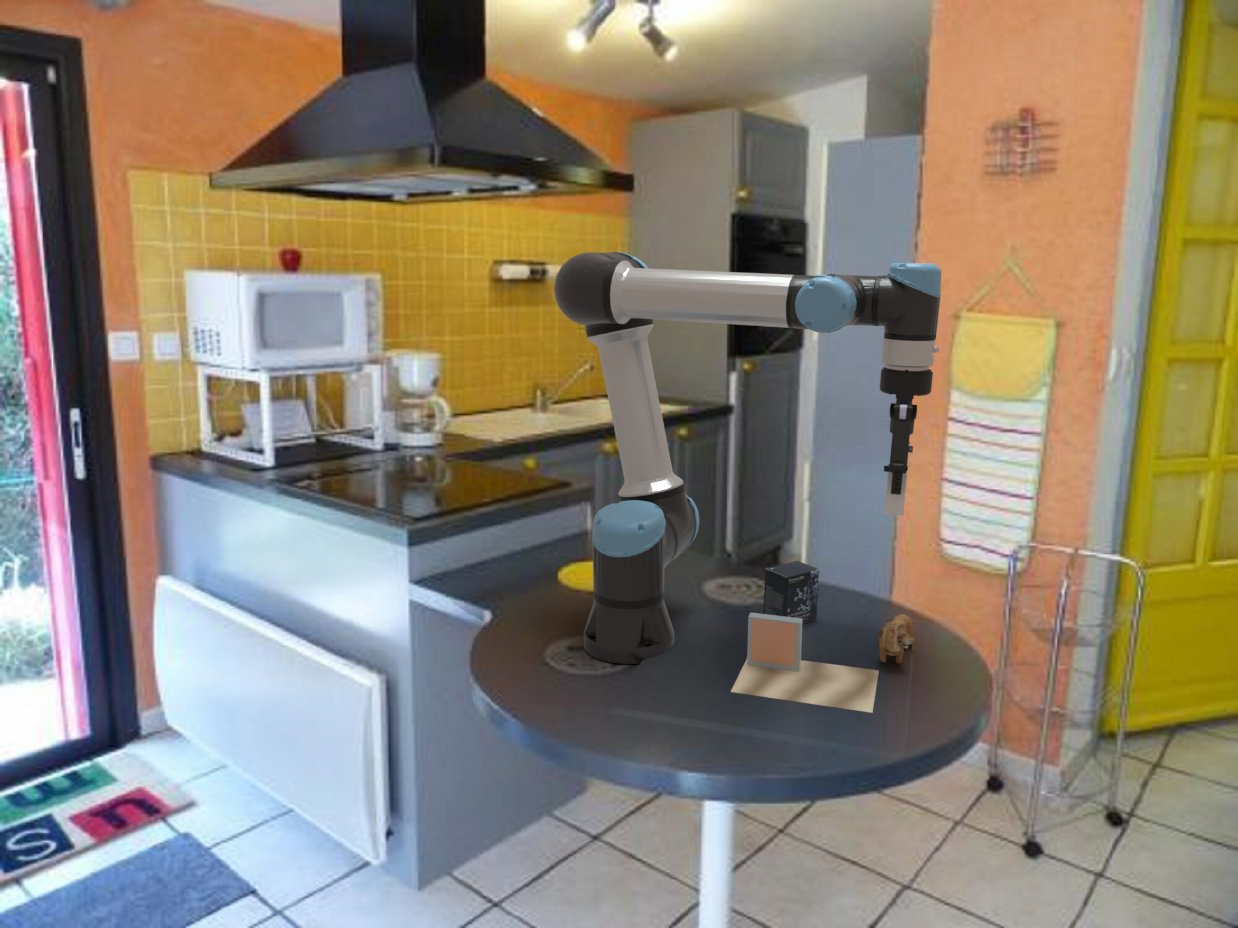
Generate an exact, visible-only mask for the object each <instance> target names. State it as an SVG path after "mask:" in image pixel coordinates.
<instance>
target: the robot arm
mask: <svg viewBox="0 0 1238 928" xmlns="http://www.w3.org/2000/svg"><path fill="white" fill-rule="evenodd" d="M941 287H942V270H941V268H940V266H939V265H938V264H935V263H928V262H927V263H925V262H923V263H921V262H919V263H918V262H917V263H916V262H893V263H891V265H889V269H888V272H887V275H886V274H885V275H859V274H858V275H857V274H835V273H826V274H814V275H808V274H807V275H806V274H805V275H804V274H801V275H799V274H796V275H795V274H781V273H760V272H738V271H737V272H735V271H734V272H733V271H715V270H714V271H713V270H712V271H711V270H695V269H694V270H691V269H690V270H687V269H670V268H669V269H666V268H664V269H663V268H649V267H648V265H647V264H646V263H644V262H643V261H642V260H641V259H639V258H638V257H636V256H634V255H631V254H628V253H624V252H621V251H611V252H590V251H589V252H583V253H580V254H579V253H578V254H576V255H573V256H572V257H571V258H569V259H567V260H566V261H565V262H564V263H563V264H562V265H561V266H560V268H559V269H558V272H557V273H556V276H555V281H554V284H553V292H554V298H555V301H556V304H557V306H558V308H559V310H560V311H561V313H562V314H564V316H566V317H567V318H568V319H569V320H570V321H572V322H574V323H576V324H579V325H582V326H584V330H585V335H586V339H587V340H588V341H589V342H590V343H593V344H594V345H595V346H596V347H597V348H598V353H599V359H600V363H601V364H600V365H601V368H602V369H601V370H602V374H603V378H604V382H605V383H604V384H605V389H606V393H607V398H608V404H609V407H610V414H611V419H612V424H613V427H614V429H613V430H614V434H615V440H616V444H617V448H618V454H619V459H620V463H621V469H622V473H623V477H624V478H623V479H624V483H623V484H622V486H621V488H620V489H619V491H618V498H619V502H618V503H610V504H607V505H605V506H603V507H602V508H600V509H599V510H598V511H597V513H596V514H595V515H594V517H593V522H592V532H591V542H592V570H593V571H592V577H593V578H592V579H593V581H592V585H593V602H592V605H591V609H590V612H589V615H588V618H587V622H586V624H585V628H584V630H583V648H584V651H585V652H586V653H587V654H588V655H589V656H591V657H592V658H593V657H594V658H595V659H597V660H600V661H603V662H608V663H612V664H619V665H621V664H622V665H630V664H631V665H633V664H637V665H638V664H641V663H642V662H643V660H644V659H648V658H653V657H657V656H659V655H662V654H664V653H666V652H668V651H670V649H672V648H673V646H674V645H675V637H676V636H675V629H674V627H673V624H672V619H671V618H670V614H669V612H668V609H667V605H666V603H665V568H666V567H667V566H669V564H671V563H672V562H673V561H674V560H675V559H676V558H678V557H680V556H681V555H683V554H684V553H685V552H687V550H688V549H689V548H690V547H691V545H692V543H693V542H694V540H695V539H696V537H697V534H698V532H699V527H700V516H699V515H700V514H699V510H698V507H697V505H696V503H695V502H694V500H693V499H692V498H691V497H690V496H689V495H687V493H686V488H685V483H684V480H683V479H682V478H681V477H680V476H678V475H676V474H675V473H674V471H673V470H674V469H673V466H672V461H671V456H670V451H669V445H668V439H667V434H666V430H665V429H666V428H665V424H664V419H663V413H662V409H661V404H660V399H659V398H660V397H659V394H658V388H657V382H656V378H655V372H654V367H653V362H652V357H651V353H650V352H651V351H650V346H649V340H648V336H649V334H650V332H652V329H653V328H654V326H655V325H654V320H656V321H657V320H660V321H661V320H662V321H677V322H694V323H705V324H706V323H708V324H720V325H721V324H724V325H725V324H726V325H736V326H738V325H739V326H756V327H757V326H759V327H770V328H771V327H772V328H788V329H789V328H790V329H795V330H796V329H797V330H798V329H799V330H810V331H813V332H815V333H820V334H821V333H823V334H824V333H834V332H837V331H839V330H841V329H842V328H844V327H846V326H863V327H864V326H868V327H871V326H872V327H883V328H884V332H883V338H882V339H883V340H882V350H881V363H882V364H883V365H884V366H883V367H882V368H881V370H880V378H879V379H880V381H879V390H880V391H881V393H883V394H888V395H895V399H896V401H895V402H893V403H892V402H890V406H889V418H890V423H889V432H890V433H891V434H892V435H891V446H890V455H889V457H890V458H889V464H887V465H883V472H885V473H886V472H887V480H886V493H885V503H884V514H885V515H894V516H895V515H896V516H904V512H905V511H904V510H905V502H906V501H905V499H906V490H907V480H908V479H907V478H908V469H909V465H908V464H909V455H910V454H911V453H914V452H913V450H914V446H913V445H910V436H911V435H912V434H914V427H915V420H916V419H917V414H918V404H913V400H914V398H915V397H916V396H917V397H918V396H919V397H920V396H923V397H924V396H927V395H929V394H931V392H932V388H933V387H932V386H933V385H932V384H933V375H934V371H933V370H932V369H930V367H932V366H934V361H935V360H934V358H935V355H934V353H935V354H936V353H939V352H940V346H938V345H935V344H936V339H937V331H938V323H939V314H940V306H941V305H940V304H941V297H942V295H941V292H942V291H941V289H942V288H941ZM914 396H915V397H914ZM909 453H910V454H909Z"/></svg>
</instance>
